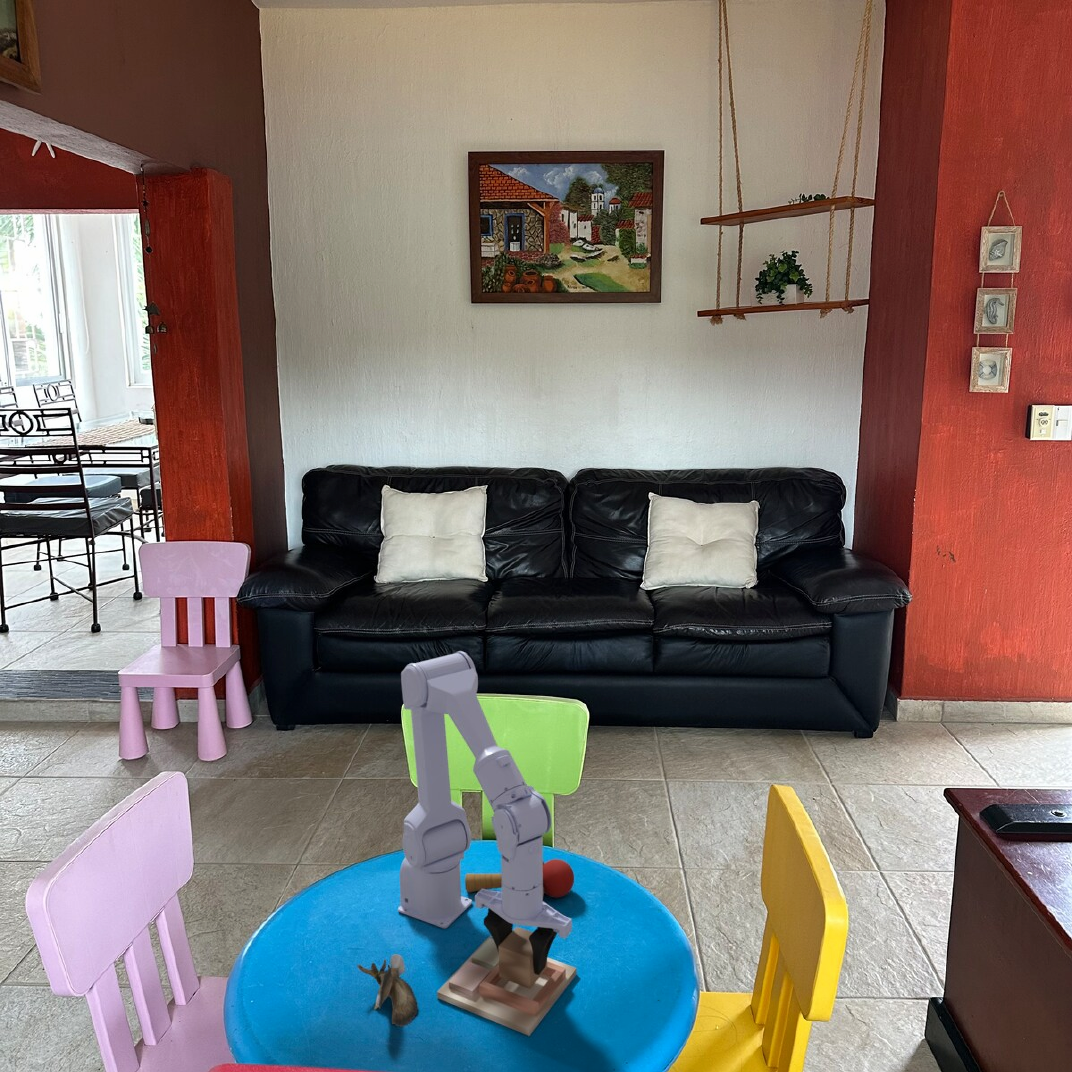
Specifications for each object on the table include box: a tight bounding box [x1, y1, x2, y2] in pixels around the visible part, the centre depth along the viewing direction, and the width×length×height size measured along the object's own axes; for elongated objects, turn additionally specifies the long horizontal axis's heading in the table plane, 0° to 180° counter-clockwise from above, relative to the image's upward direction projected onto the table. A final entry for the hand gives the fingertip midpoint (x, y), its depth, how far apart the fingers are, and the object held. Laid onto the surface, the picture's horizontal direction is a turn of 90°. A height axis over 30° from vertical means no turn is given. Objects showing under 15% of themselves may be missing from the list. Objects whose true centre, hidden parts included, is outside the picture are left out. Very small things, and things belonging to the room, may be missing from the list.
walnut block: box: [499, 926, 547, 989], centre depth 138 cm, size 5×5×5 cm
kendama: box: [464, 858, 575, 898], centre depth 162 cm, size 8×6×18 cm
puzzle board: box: [436, 935, 578, 1037], centre depth 140 cm, size 15×14×2 cm
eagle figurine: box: [356, 953, 419, 1027], centre depth 136 cm, size 8×7×9 cm
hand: (522, 963), depth 138 cm, fingers closed on walnut block, 5 cm apart
